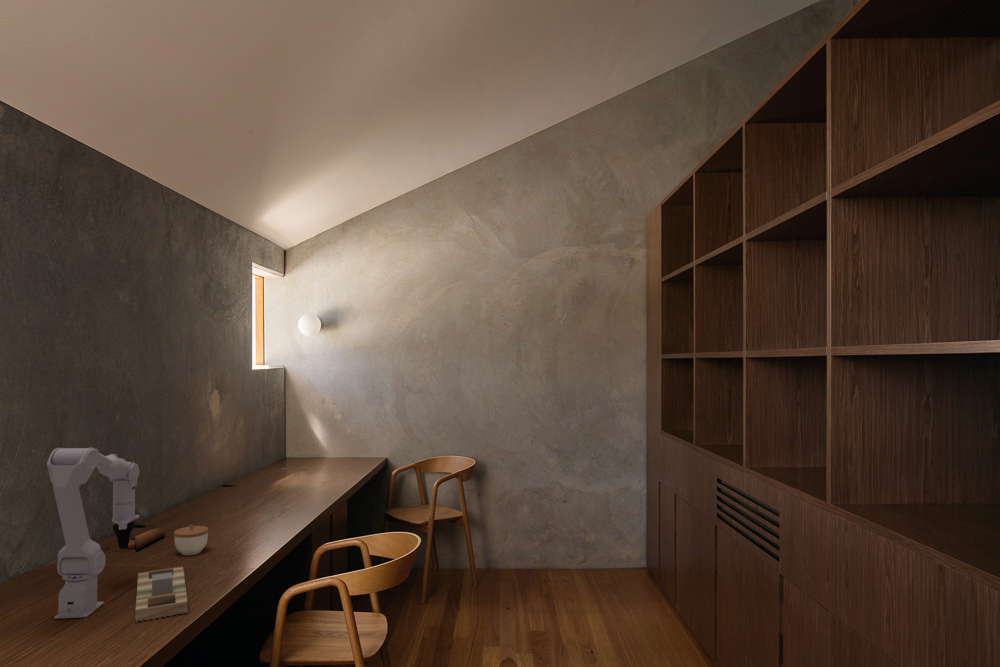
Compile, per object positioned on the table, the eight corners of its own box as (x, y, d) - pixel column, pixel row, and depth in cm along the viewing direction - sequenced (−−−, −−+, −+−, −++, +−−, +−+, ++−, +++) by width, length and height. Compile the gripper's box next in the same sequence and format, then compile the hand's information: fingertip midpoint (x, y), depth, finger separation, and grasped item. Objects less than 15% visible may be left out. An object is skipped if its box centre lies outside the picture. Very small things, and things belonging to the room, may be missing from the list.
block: (172, 592, 178) (172, 577, 178) (151, 595, 176) (152, 580, 176) (172, 586, 182) (172, 572, 182) (151, 589, 180) (152, 575, 180)
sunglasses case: (143, 536, 242) (152, 521, 242) (159, 546, 241) (168, 530, 241) (113, 551, 224) (122, 535, 224) (130, 562, 223) (140, 545, 223)
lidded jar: (213, 547, 228) (213, 520, 228) (200, 557, 217) (200, 529, 218) (182, 548, 228) (182, 521, 228) (167, 557, 217) (168, 529, 217)
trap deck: (187, 613, 171) (187, 602, 171) (135, 622, 165) (135, 610, 165) (182, 576, 199) (182, 566, 199) (138, 582, 194) (138, 572, 194)
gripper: (138, 505, 190) (138, 552, 189) (139, 496, 202) (139, 539, 202) (110, 508, 186) (110, 556, 186) (113, 498, 199) (113, 543, 199)
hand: (123, 548), depth 194 cm, fingers closed
